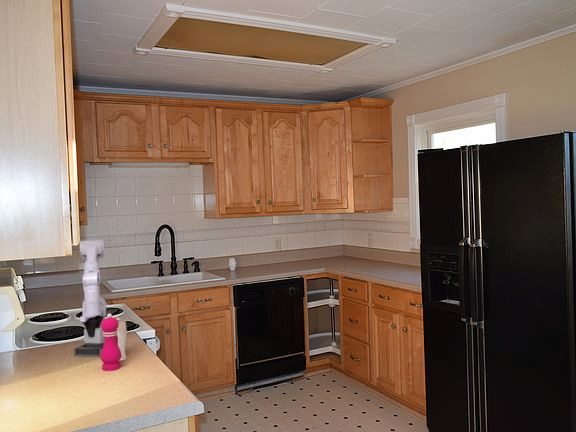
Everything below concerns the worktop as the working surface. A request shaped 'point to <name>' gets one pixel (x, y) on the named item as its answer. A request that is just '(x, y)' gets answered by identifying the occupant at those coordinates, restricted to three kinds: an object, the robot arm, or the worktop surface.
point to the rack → (89, 350)
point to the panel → (97, 337)
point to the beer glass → (121, 337)
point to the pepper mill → (110, 344)
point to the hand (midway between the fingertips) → (93, 335)
